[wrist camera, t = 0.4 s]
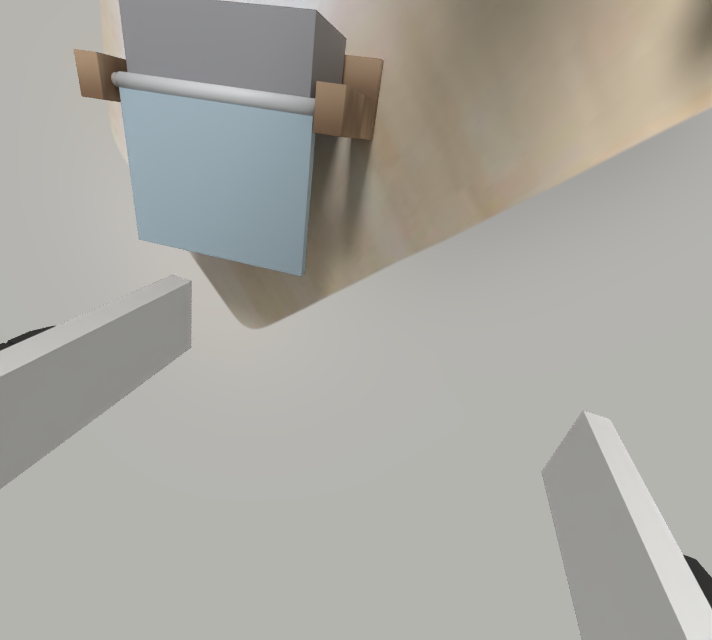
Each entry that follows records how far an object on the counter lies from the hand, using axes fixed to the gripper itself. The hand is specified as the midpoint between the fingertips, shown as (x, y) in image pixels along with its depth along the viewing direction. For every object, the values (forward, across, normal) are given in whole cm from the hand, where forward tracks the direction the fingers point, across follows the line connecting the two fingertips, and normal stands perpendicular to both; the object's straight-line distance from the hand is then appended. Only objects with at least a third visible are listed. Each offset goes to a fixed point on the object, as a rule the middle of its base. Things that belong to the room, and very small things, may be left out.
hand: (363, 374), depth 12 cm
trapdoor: (+25, -18, +3) cm, 31 cm away
